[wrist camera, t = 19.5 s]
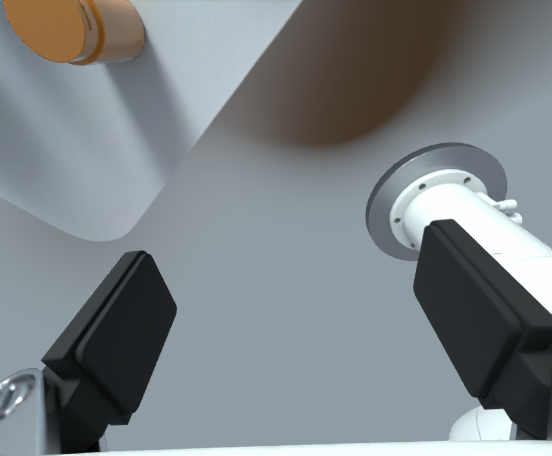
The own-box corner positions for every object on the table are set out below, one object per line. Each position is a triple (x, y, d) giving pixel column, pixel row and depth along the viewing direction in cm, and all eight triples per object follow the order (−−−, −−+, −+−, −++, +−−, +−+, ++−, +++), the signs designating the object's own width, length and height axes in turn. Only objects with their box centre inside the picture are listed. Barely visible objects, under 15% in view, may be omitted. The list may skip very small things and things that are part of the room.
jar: (128, -17, 26) (57, -49, 18) (154, 55, 29) (105, 59, 21) (71, -4, 27) (-25, -28, 18) (103, 66, 30) (34, 74, 21)
